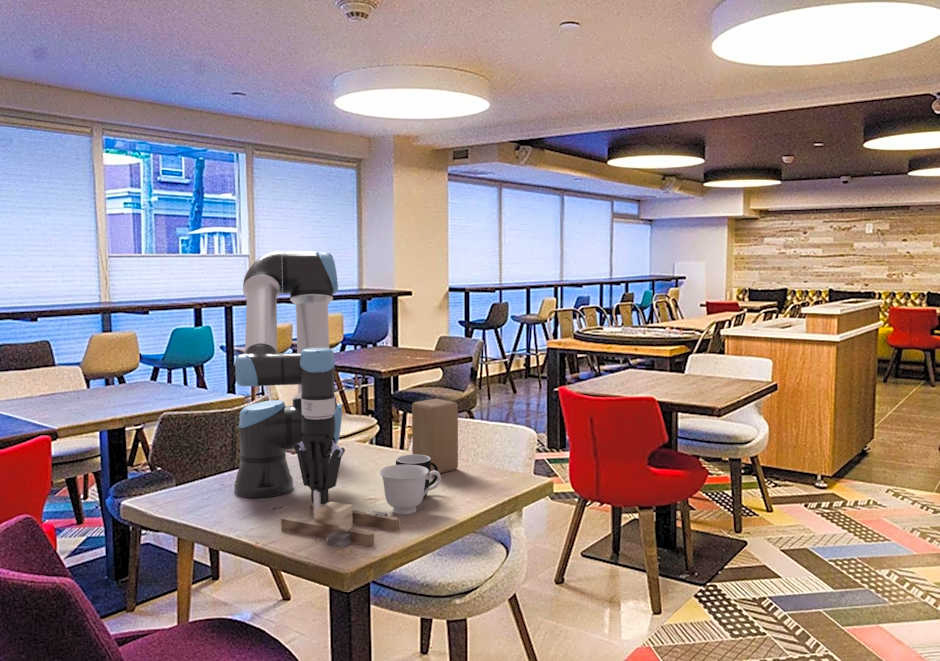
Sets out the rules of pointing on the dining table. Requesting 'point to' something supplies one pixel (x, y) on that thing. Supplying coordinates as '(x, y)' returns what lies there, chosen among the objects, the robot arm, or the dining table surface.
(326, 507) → the block
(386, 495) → the teacup
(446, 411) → the block
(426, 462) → the mug
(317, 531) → the beam slot
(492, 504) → the dining table surface
